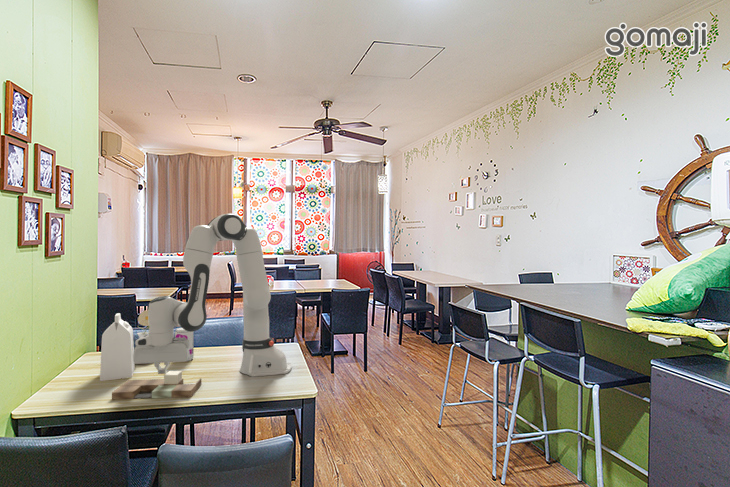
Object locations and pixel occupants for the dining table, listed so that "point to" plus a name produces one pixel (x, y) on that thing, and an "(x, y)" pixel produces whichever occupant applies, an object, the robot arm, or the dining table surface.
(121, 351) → the milk
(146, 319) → the flower in vase
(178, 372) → the cream block
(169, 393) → the board
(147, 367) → the dining table surface
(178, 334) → the supplement can
